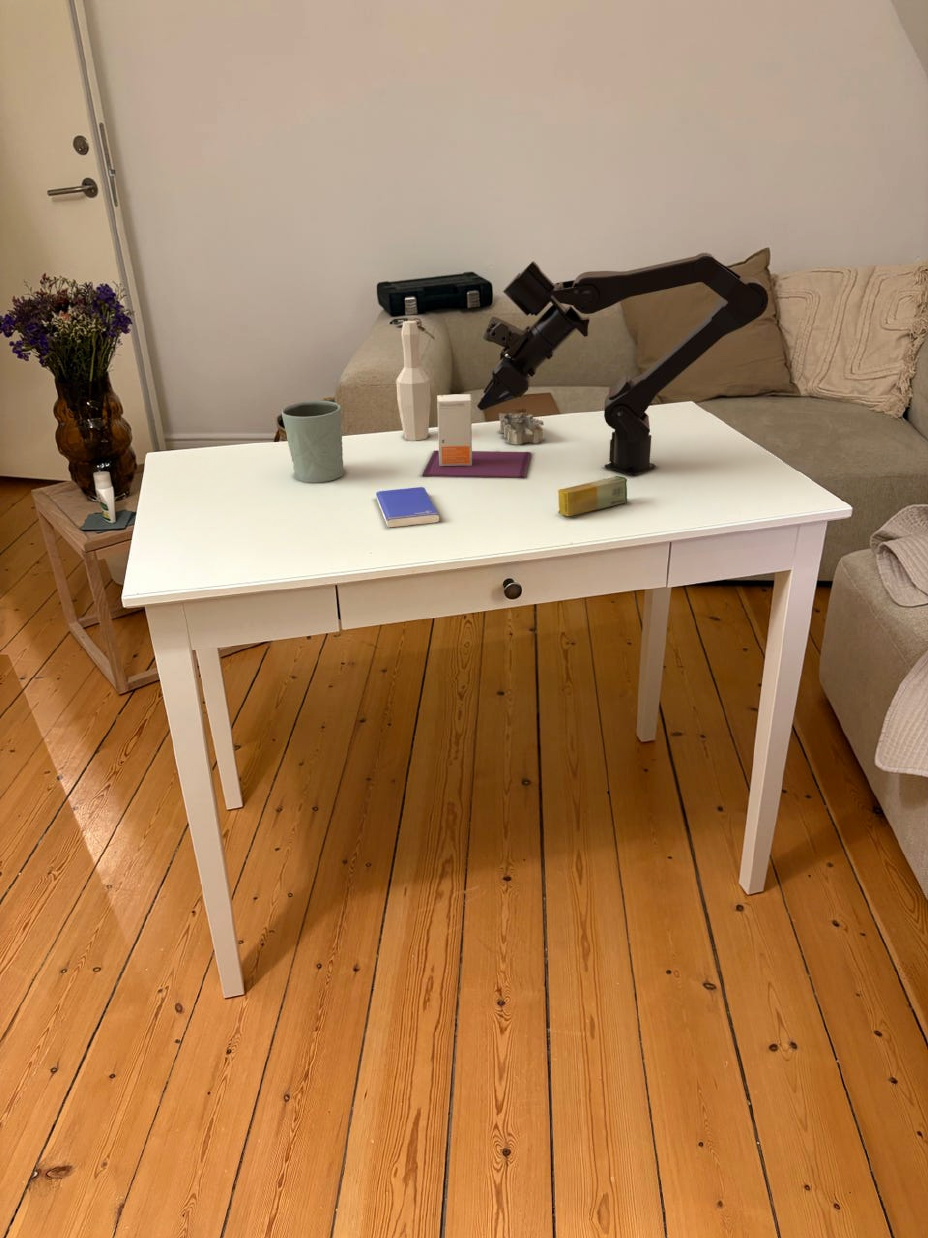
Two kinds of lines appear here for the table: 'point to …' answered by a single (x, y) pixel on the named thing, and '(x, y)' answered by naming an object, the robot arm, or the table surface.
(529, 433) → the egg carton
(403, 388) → the faceted bottle
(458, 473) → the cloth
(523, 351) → the robot arm
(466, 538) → the table surface
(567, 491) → the medication box
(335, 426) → the green plant pot
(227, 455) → the table surface
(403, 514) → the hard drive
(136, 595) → the table surface
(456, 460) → the cosmetic box
